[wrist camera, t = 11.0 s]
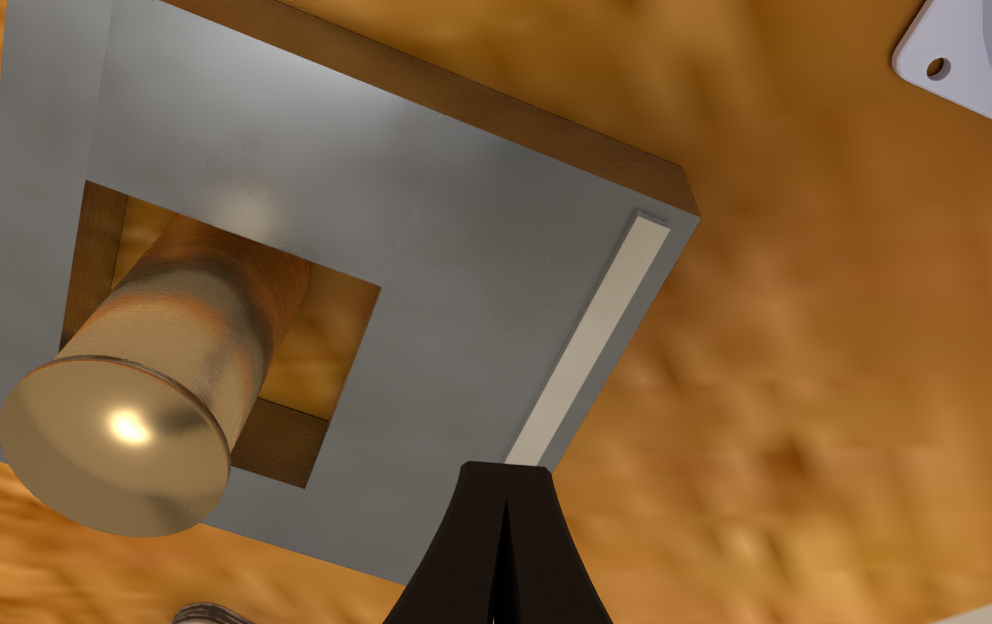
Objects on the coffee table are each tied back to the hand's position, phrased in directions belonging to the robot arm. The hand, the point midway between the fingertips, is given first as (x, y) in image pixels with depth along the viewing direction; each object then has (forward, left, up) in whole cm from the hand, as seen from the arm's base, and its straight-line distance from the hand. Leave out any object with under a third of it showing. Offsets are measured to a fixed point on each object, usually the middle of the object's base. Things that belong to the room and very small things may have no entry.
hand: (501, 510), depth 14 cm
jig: (+4, +4, -10) cm, 12 cm away
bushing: (+7, +4, -10) cm, 13 cm away
